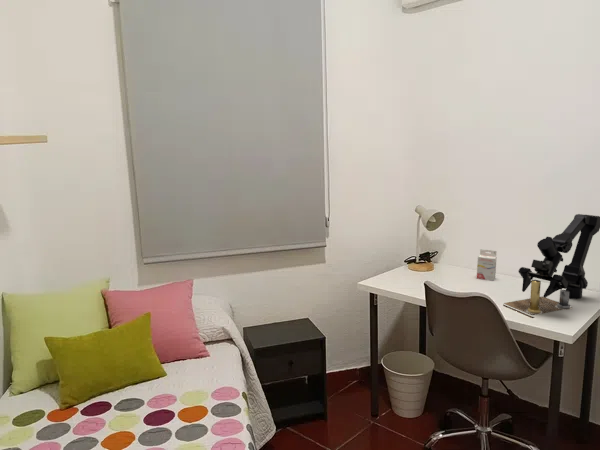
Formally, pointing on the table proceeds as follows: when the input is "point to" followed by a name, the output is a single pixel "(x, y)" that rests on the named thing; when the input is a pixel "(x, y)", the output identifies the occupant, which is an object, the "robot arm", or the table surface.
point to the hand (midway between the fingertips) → (533, 294)
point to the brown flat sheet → (539, 306)
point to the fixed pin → (564, 300)
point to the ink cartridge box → (486, 265)
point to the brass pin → (535, 297)
